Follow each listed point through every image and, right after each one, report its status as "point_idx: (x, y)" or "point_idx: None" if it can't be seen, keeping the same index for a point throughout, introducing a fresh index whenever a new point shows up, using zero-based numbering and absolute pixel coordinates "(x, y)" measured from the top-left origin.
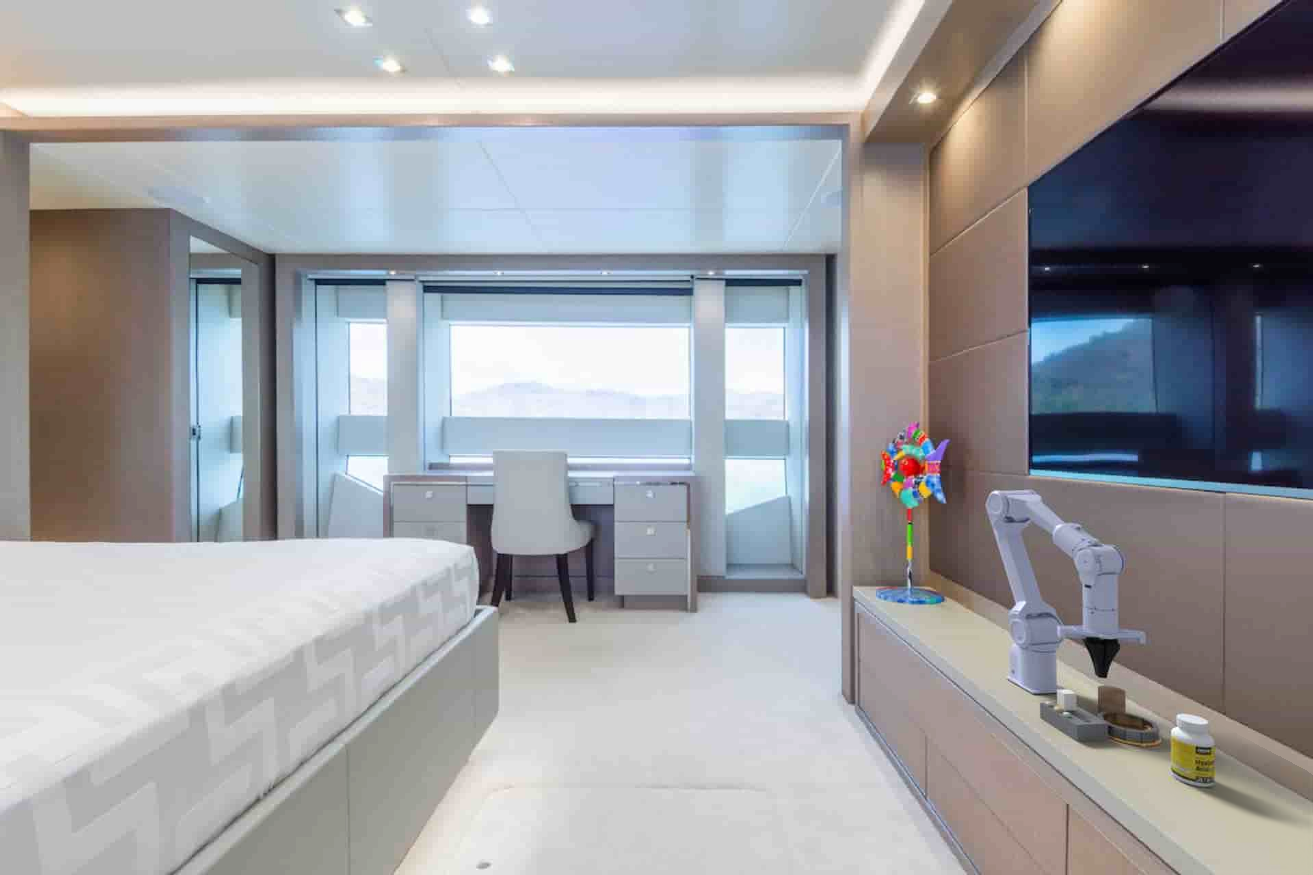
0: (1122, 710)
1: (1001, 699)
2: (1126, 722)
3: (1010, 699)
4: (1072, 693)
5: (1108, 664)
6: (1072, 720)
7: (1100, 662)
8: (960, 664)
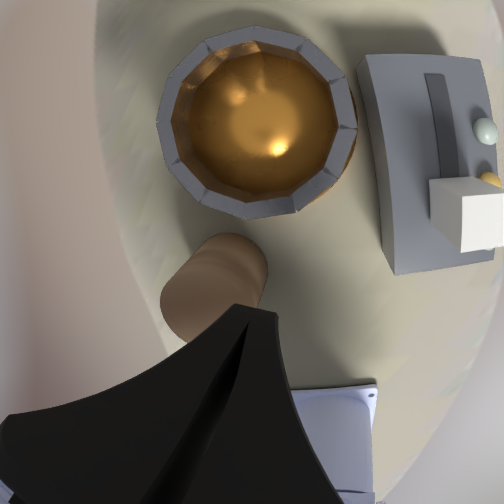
0: (205, 247)
1: (471, 348)
2: (226, 185)
3: (453, 351)
4: (478, 195)
5: (192, 356)
6: (480, 94)
7: (256, 382)
8: (399, 466)
